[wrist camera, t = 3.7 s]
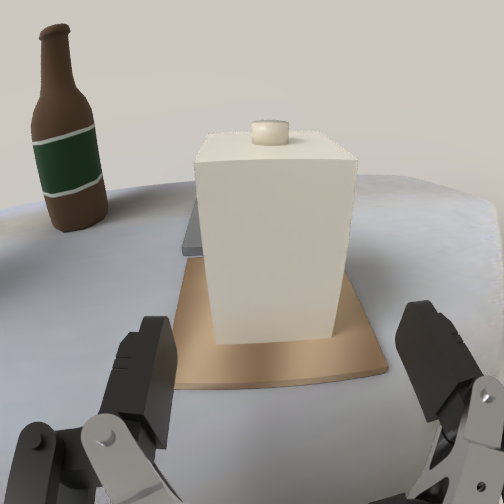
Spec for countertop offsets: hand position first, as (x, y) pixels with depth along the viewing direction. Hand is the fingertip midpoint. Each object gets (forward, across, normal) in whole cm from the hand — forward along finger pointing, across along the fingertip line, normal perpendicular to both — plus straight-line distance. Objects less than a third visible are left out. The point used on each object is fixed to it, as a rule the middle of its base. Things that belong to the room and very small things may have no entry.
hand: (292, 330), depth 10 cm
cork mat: (+8, 0, +7) cm, 11 cm away
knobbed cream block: (+8, 0, +6) cm, 10 cm away
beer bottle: (+25, +21, +7) cm, 34 cm away
